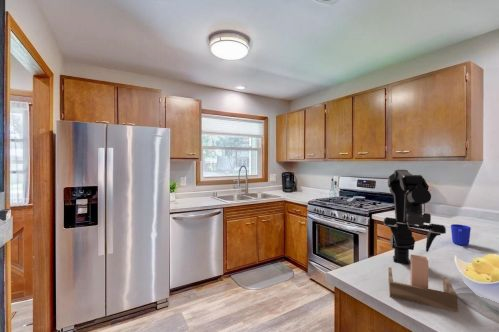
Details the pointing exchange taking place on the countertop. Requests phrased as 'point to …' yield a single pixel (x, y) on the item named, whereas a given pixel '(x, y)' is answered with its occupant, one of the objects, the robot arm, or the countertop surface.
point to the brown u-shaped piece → (425, 294)
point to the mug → (460, 234)
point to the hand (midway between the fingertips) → (411, 248)
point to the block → (419, 271)
